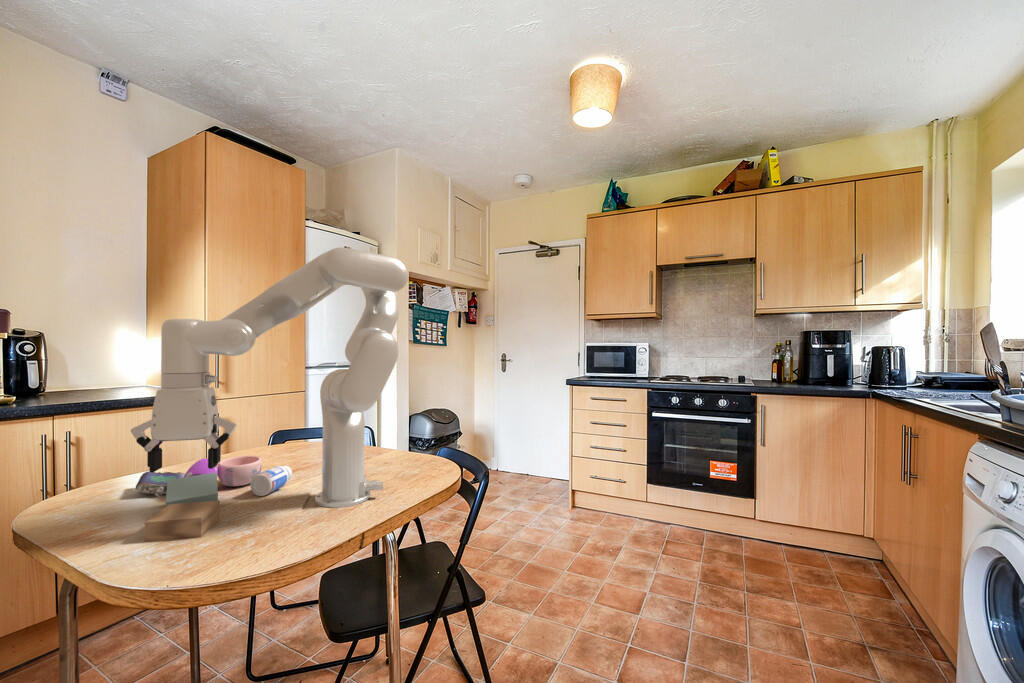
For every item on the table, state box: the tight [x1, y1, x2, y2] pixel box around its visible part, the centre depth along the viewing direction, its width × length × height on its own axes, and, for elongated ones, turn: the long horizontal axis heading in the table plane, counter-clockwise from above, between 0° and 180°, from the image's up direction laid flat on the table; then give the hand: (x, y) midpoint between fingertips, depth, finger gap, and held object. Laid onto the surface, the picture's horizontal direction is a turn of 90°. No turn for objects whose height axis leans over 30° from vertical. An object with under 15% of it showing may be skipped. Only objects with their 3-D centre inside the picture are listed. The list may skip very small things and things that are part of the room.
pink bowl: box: [217, 455, 263, 487], centre depth 114 cm, size 12×10×6 cm
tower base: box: [144, 499, 221, 542], centre depth 85 cm, size 9×9×4 cm
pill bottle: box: [249, 465, 293, 497], centre depth 108 cm, size 6×5×10 cm
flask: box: [135, 471, 186, 497], centre depth 106 cm, size 9×3×11 cm
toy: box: [184, 457, 218, 477], centre depth 103 cm, size 7×7×15 cm
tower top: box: [165, 472, 219, 507], centre depth 96 cm, size 9×9×4 cm
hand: (184, 468), depth 85 cm, fingers open, 9 cm apart
